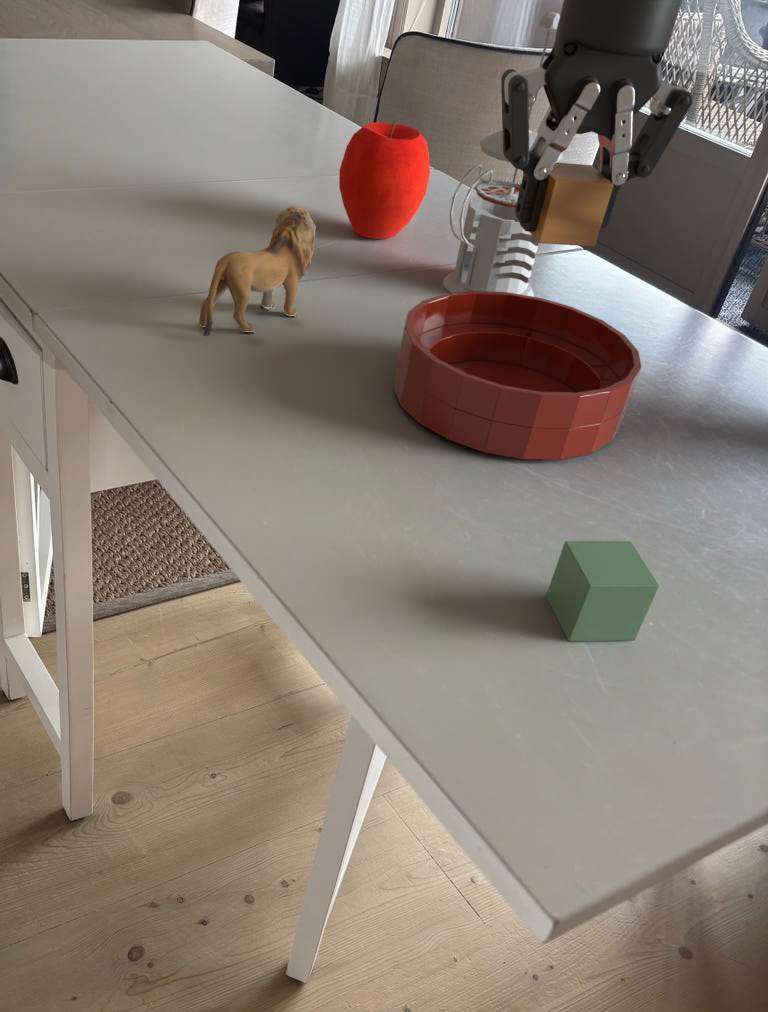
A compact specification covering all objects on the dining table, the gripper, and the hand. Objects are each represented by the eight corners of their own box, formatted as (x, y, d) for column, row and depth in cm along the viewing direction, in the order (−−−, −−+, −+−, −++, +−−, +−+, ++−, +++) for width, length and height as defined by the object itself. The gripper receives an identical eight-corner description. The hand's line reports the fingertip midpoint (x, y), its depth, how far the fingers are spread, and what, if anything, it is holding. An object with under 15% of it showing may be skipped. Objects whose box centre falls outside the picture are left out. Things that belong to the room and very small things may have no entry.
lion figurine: (277, 289, 97) (285, 195, 91) (321, 306, 95) (332, 211, 89) (182, 333, 88) (185, 231, 82) (229, 352, 86) (235, 250, 80)
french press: (554, 300, 102) (632, 23, 85) (468, 315, 97) (533, 24, 80) (494, 265, 108) (556, 0, 91) (410, 278, 103) (460, 0, 86)
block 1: (574, 225, 77) (591, 164, 74) (594, 246, 74) (614, 184, 71) (520, 222, 76) (535, 160, 73) (538, 243, 73) (555, 180, 70)
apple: (364, 257, 106) (382, 136, 98) (314, 226, 112) (327, 109, 104) (434, 247, 111) (457, 130, 103) (383, 217, 117) (400, 104, 109)
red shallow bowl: (572, 357, 92) (591, 295, 88) (652, 467, 78) (679, 399, 74) (374, 350, 89) (385, 286, 85) (421, 463, 75) (436, 392, 71)
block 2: (609, 595, 65) (631, 540, 62) (635, 640, 61) (660, 585, 58) (545, 596, 64) (564, 540, 61) (568, 641, 61) (589, 585, 58)
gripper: (547, -41, 59) (483, 243, 71) (760, -18, 62) (665, 253, 73) (511, -58, 65) (456, 208, 76) (708, -37, 67) (626, 218, 78)
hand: (559, 229), depth 74 cm, fingers closed on block 1, 4 cm apart
